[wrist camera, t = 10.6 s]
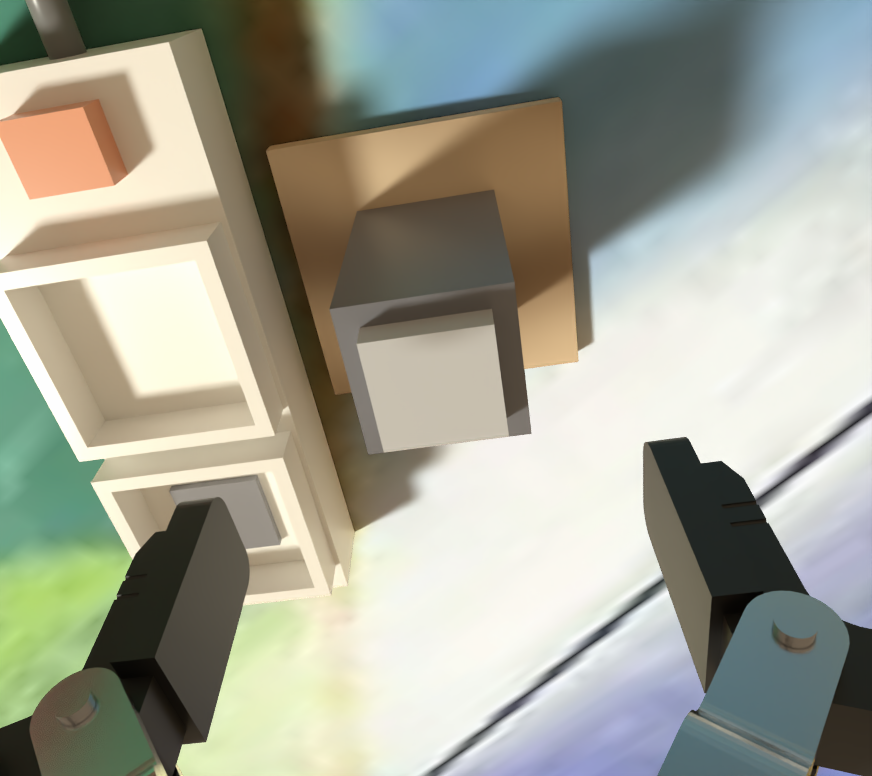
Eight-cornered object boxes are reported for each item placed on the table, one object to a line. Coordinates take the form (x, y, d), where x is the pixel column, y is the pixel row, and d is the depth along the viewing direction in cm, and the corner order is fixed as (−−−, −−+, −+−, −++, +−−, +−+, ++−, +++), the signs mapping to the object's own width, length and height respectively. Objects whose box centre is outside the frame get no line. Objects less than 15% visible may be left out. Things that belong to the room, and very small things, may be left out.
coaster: (269, 145, 22) (266, 151, 22) (558, 97, 22) (561, 100, 21) (336, 386, 27) (335, 394, 27) (575, 353, 26) (578, 361, 26)
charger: (357, 211, 23) (325, 324, 16) (494, 189, 22) (517, 297, 16) (384, 331, 25) (365, 473, 19) (508, 313, 25) (534, 452, 18)
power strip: (-102, -91, 19) (-235, -95, 15) (149, -143, 18) (75, -162, 15) (200, 551, 32) (168, 635, 28) (354, 532, 31) (343, 615, 27)
